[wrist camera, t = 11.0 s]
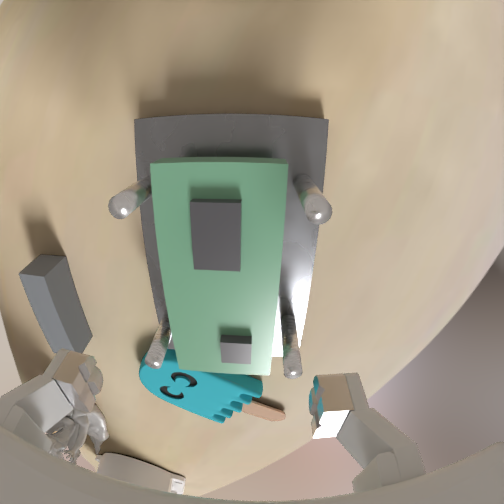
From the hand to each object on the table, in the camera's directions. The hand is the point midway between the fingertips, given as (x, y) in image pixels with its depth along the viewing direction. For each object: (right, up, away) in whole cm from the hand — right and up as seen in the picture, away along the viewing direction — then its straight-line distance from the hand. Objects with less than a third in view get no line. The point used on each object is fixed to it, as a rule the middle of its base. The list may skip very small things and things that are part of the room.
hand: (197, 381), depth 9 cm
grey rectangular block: (-14, +1, +11) cm, 17 cm away
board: (0, +3, +5) cm, 6 cm away
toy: (-1, -8, +15) cm, 17 cm away
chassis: (0, +5, +8) cm, 9 cm away
